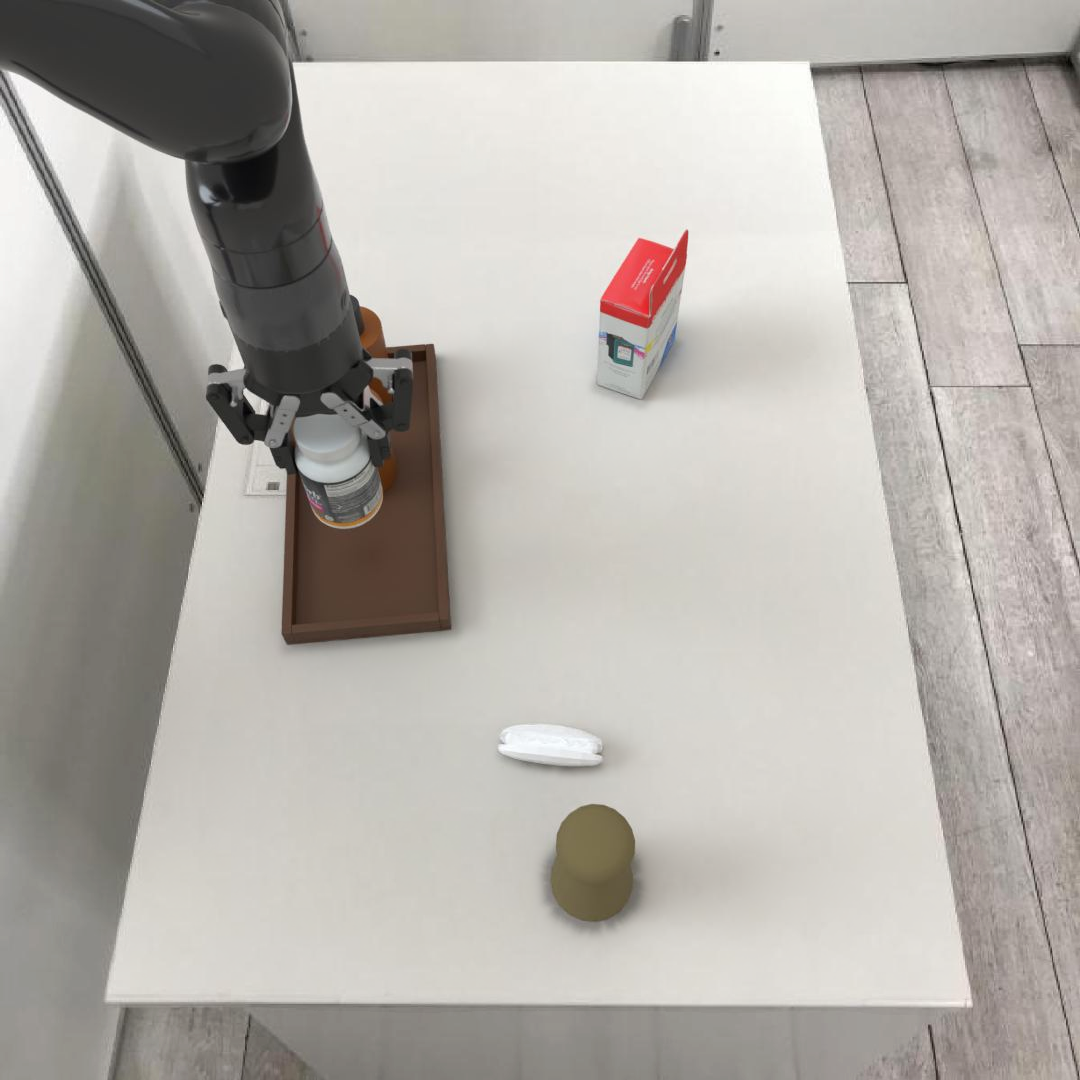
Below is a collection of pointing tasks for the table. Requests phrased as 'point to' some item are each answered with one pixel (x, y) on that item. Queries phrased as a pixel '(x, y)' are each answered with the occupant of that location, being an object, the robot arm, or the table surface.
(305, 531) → the tray
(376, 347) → the amber bottle far
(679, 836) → the table surface
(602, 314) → the ink box
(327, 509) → the pill bottle
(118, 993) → the table surface
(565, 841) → the cork
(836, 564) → the table surface
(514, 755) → the sub sandwich
